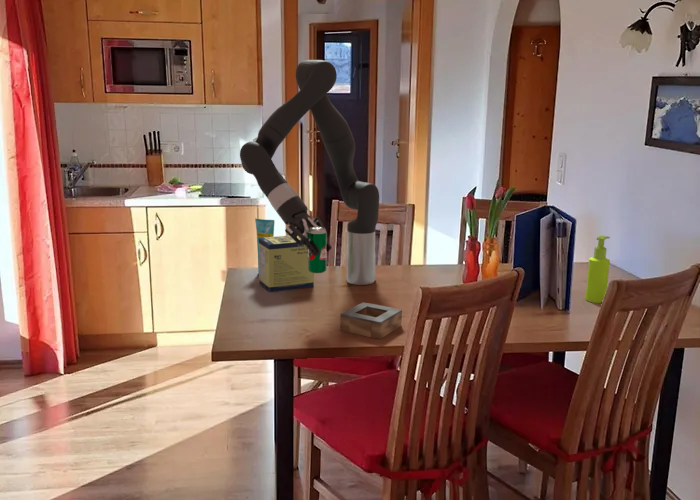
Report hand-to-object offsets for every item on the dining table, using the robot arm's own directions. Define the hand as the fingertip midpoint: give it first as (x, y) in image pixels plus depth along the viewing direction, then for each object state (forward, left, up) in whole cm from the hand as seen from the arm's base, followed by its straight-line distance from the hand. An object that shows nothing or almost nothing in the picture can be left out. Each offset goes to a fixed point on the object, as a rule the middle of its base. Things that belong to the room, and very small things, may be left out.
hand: (323, 252), depth 184 cm
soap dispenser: (-63, +60, -20) cm, 89 cm away
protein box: (-23, -29, -20) cm, 42 cm away
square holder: (-3, +14, -20) cm, 24 cm away
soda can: (0, -2, -6) cm, 6 cm away
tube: (-30, -43, -20) cm, 56 cm away
